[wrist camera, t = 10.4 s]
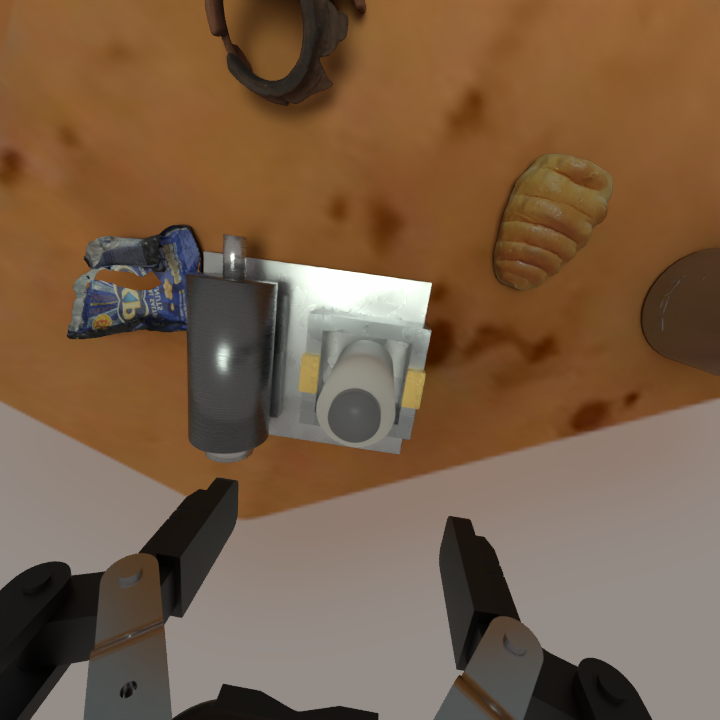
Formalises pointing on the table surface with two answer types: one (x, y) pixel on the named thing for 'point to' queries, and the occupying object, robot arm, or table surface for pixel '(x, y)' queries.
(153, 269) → the snack package
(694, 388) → the table surface
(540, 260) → the pastry
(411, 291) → the motor unit
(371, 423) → the white cylinder roll
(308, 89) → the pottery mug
